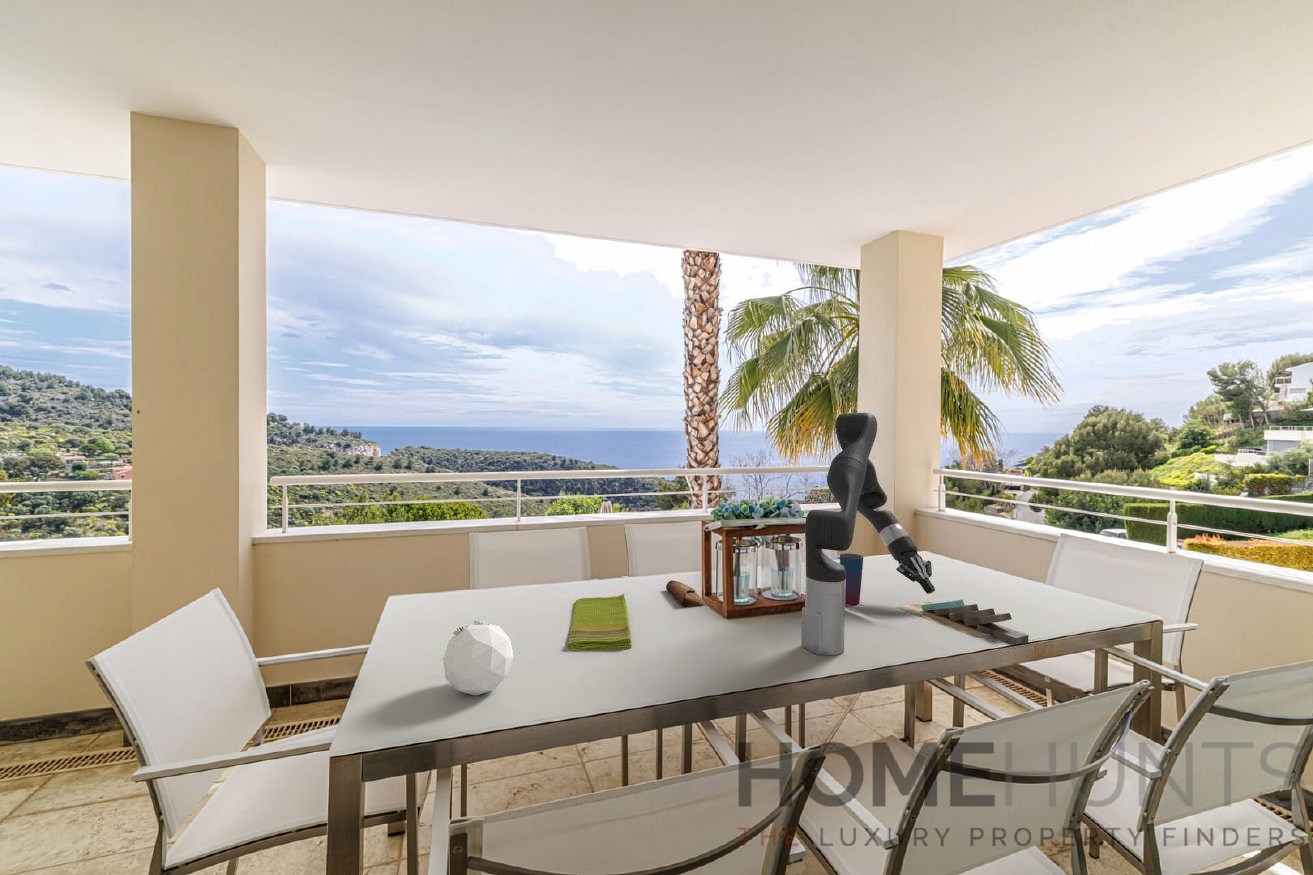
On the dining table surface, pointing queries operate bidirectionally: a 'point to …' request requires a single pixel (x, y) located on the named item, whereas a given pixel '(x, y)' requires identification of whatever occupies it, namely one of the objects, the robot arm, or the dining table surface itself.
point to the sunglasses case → (684, 594)
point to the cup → (852, 577)
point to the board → (942, 619)
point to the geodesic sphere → (478, 658)
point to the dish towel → (600, 624)
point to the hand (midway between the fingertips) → (931, 592)
